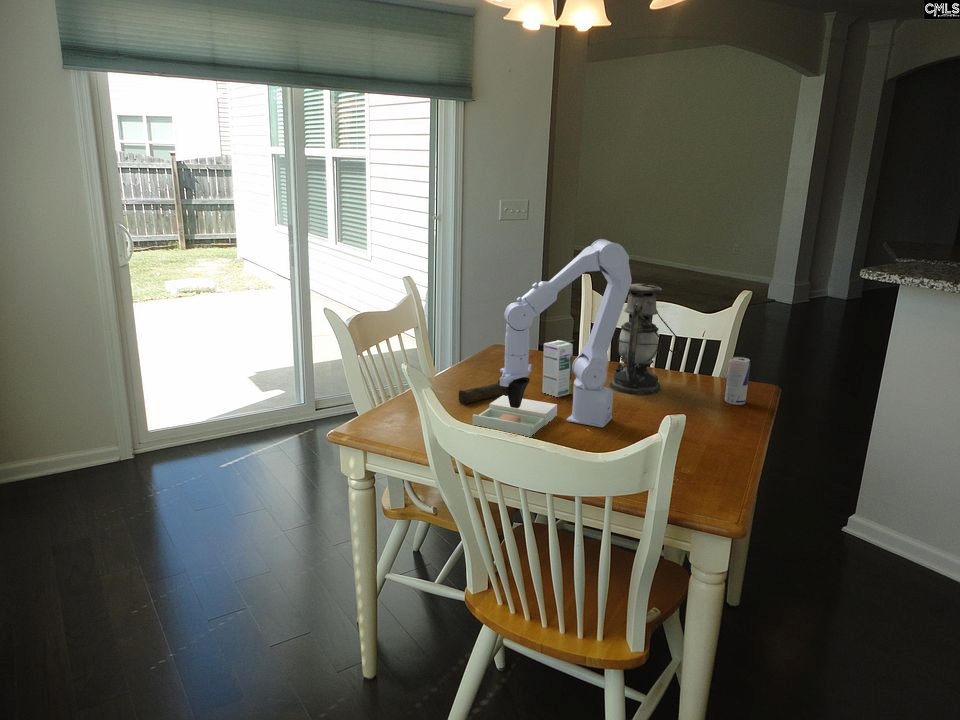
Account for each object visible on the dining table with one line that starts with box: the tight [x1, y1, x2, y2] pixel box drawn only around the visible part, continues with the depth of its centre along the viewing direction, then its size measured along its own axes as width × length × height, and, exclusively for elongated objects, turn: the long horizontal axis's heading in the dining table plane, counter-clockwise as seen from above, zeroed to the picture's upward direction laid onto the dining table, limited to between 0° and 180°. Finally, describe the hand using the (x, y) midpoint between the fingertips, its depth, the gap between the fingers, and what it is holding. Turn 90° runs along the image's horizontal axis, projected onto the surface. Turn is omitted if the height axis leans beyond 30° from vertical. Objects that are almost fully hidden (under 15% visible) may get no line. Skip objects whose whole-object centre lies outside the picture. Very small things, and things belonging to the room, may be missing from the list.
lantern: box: [609, 282, 682, 396], centre depth 196 cm, size 19×19×30 cm
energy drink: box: [724, 356, 751, 406], centre depth 188 cm, size 5×5×12 cm
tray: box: [471, 407, 546, 438], centre depth 169 cm, size 15×9×3 cm, turn 63°
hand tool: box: [458, 379, 508, 405], centre depth 189 cm, size 19×4×5 cm, turn 125°
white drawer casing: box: [488, 395, 558, 426], centre depth 176 cm, size 15×8×3 cm, turn 63°
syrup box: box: [542, 339, 574, 398], centre depth 192 cm, size 6×6×14 cm
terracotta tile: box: [497, 414, 521, 423], centre depth 168 cm, size 4×4×2 cm
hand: (515, 407), depth 171 cm, fingers closed
